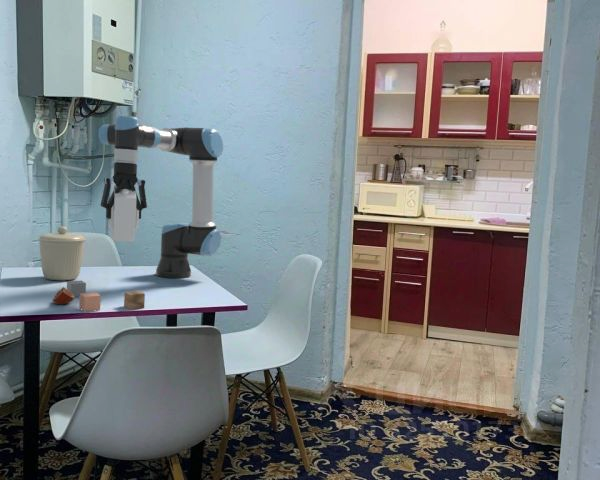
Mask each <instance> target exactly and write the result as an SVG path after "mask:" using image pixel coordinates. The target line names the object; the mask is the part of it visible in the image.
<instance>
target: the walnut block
mask: <svg viewBox="0 0 600 480" xmlns="http://www.w3.org/2000/svg"><path fill="white" fill-rule="evenodd" d="M145 297H146V293H144V292H142V291H140V290H130V291H124V296H123V299H124V300H123V307H125V308H127V309H128V310H137V309H138V310H139V309H140V310H141V309H145V301H146V300H145Z"/></svg>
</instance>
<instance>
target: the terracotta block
mask: <svg viewBox="0 0 600 480" xmlns="http://www.w3.org/2000/svg"><path fill="white" fill-rule="evenodd" d="M78 301H79V303H78V304H79V305H78V307H79V308H80V309H79V310H81V309H82V310H83V311H82V310H81V311H82V312H84V311H89V312H95V311H94V310H100V311H101V295H100V294H99V293H97V292H86V293H80V297H79V300H78Z"/></svg>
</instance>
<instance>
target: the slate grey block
mask: <svg viewBox="0 0 600 480" xmlns="http://www.w3.org/2000/svg"><path fill="white" fill-rule="evenodd" d="M66 289H67V290H68V291H69V292H71V293H72V294H73V295H74V297H76V298H80V293H87V282H85V281H83V280H66Z"/></svg>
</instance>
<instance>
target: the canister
mask: <svg viewBox="0 0 600 480" xmlns="http://www.w3.org/2000/svg"><path fill="white" fill-rule="evenodd" d="M36 238H37V240H38V243H39V254H40V263H41V270H42V275H43V277H44V278H45V279H47V280H49V281H64V282H65V281H73V280H75V279H77V278H78V277H79V275H80V273H81V269H82V262H83V255H84V254H83V253H84V248H85V242H86V241H87V238H86V237H84V236H83V235H81V234H78V233H72V232H71V233H69V232H68V228H67V227H66V226H59V227H58V228H57V232H49V233H48V232H47V233H43V234H41V235H40V236H38V237H36Z"/></svg>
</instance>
